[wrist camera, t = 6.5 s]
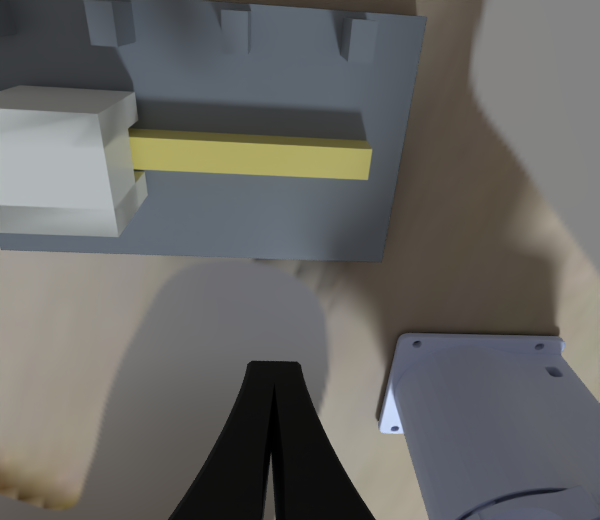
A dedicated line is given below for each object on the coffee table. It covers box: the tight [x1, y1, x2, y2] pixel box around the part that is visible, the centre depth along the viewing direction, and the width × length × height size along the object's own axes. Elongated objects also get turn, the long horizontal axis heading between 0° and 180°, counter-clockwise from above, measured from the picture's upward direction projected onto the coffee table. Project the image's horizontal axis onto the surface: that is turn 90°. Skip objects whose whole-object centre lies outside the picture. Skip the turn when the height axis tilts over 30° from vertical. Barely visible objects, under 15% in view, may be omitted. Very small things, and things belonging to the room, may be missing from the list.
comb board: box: [0, 0, 427, 262], centre depth 17 cm, size 17×10×3 cm, turn 86°
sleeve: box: [0, 85, 148, 237], centre depth 15 cm, size 4×4×4 cm
